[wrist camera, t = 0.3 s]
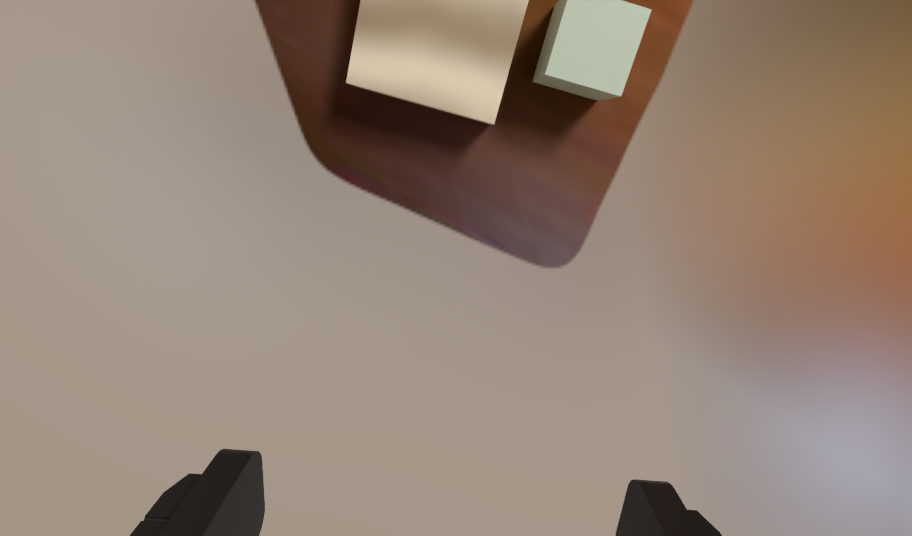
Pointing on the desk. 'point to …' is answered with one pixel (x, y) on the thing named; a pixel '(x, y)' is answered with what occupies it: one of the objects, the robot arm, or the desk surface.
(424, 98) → the birch block
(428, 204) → the desk surface
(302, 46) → the desk surface
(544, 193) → the desk surface
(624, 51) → the sage cube
